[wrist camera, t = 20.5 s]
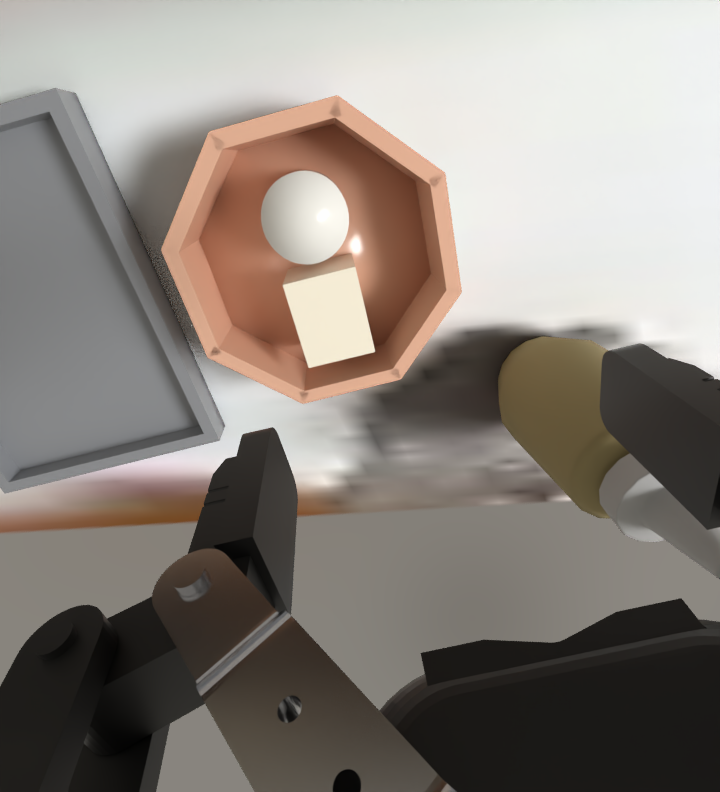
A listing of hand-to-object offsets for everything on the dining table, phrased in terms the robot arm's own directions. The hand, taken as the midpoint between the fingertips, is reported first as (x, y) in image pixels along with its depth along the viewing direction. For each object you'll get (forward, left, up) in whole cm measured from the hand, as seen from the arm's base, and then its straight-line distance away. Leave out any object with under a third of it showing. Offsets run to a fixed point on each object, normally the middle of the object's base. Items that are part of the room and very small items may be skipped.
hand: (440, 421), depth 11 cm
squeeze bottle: (+11, +10, -20) cm, 25 cm away
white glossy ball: (-4, -3, -19) cm, 20 cm away
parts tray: (-2, -21, -20) cm, 29 cm away
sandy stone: (+2, -3, -19) cm, 19 cm away
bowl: (-1, -3, -20) cm, 20 cm away
